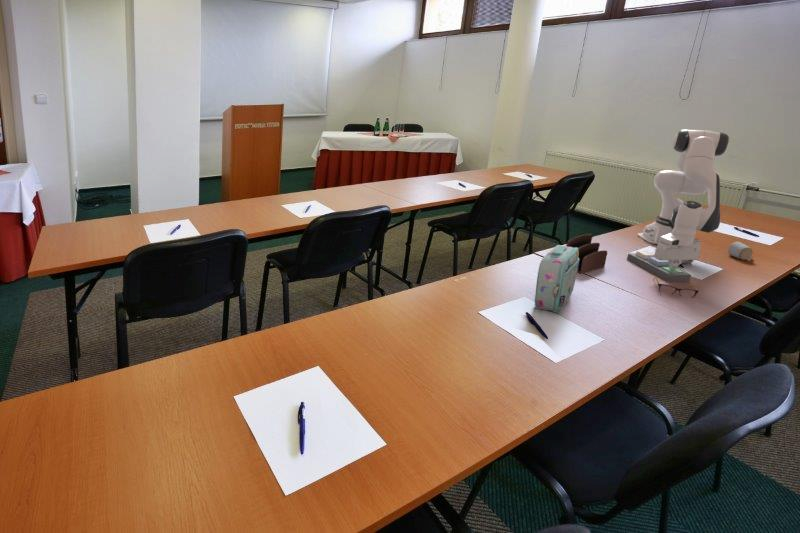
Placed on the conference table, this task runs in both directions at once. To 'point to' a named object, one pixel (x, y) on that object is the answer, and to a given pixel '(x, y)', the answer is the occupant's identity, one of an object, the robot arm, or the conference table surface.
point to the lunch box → (556, 278)
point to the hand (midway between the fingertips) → (672, 268)
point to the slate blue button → (658, 262)
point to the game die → (687, 261)
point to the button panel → (659, 269)
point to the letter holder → (588, 253)
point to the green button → (672, 270)
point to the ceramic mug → (740, 251)
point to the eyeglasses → (677, 288)
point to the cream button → (644, 254)
